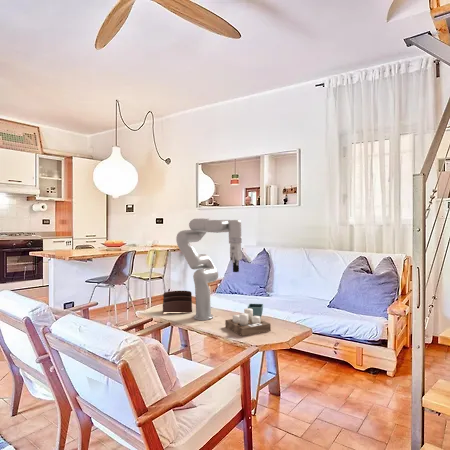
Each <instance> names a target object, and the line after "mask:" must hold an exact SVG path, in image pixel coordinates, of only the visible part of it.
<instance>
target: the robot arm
mask: <svg viewBox="0 0 450 450" xmlns="http://www.w3.org/2000/svg"><path fill="white" fill-rule="evenodd" d="M188 228H189V229H184V230H180V231H178V233H177V234H176V237H175V240H176V244H177V247H178V249H179V250H180V252H181V253H182V254H183V257H184V258H185V260H186V263H187V264H188V266H189V268H190V269H191V270H195V271H194V272H193V274H192V275H193V276H192V277H193V282H194V290H195V292H194V293H195V314H194V315H193V319H194V320H195V321H207V320H212V319H213V318H214V315H213V314H212V309H211V288H210V286H209V283H213V282H216V281H217V280H218V279H219V272H218V270H217V267H216V266H215V264H214V263H213V261H212V259H211V257H210V256H209V255H208V254H205V253H203V254H199V253H198V252H197V250H196V248H195V247H194V246H193V245H192V244H190V243H197V242H200V241H201V240H202V239H203V237H205V235H206V234H207V233H213V234H214V233H216V234H217V233H219V234H220V233H228V244H229V258H230V259H229V260H231V263H232V272H233V273H239V272H240V267H239V265H240V262H239V261H241V260H242V259H243V253H242V222H241V220H240V219H211V218H202V217H201V218H193V219H190V221H189V223H188Z"/></svg>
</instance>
